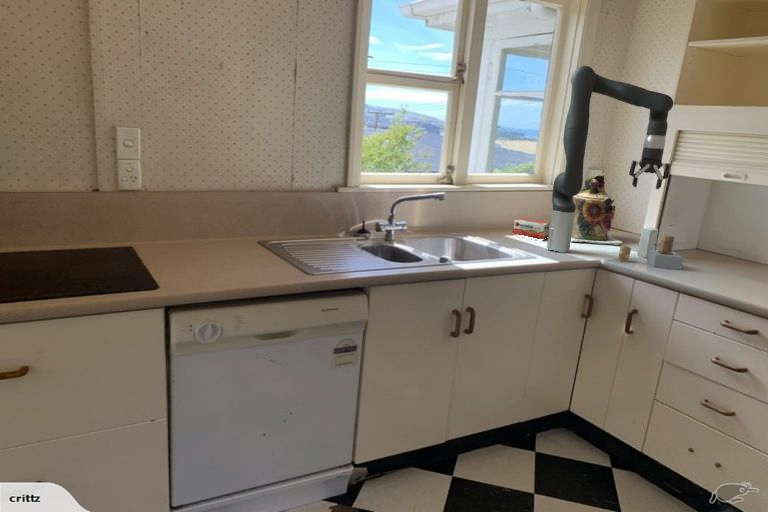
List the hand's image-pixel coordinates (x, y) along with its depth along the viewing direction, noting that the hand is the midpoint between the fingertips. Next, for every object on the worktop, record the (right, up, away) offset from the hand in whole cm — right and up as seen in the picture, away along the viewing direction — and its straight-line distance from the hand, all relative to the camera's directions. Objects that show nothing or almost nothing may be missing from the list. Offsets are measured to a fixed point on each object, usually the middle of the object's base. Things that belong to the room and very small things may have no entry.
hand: (646, 188), depth 220 cm
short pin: (-8, -29, +3) cm, 31 cm away
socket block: (+7, -31, 0) cm, 32 cm away
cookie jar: (-7, -20, +45) cm, 49 cm away
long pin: (+7, -31, 0) cm, 32 cm away
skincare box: (+7, -28, +15) cm, 32 cm away
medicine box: (-36, -19, +40) cm, 57 cm away
